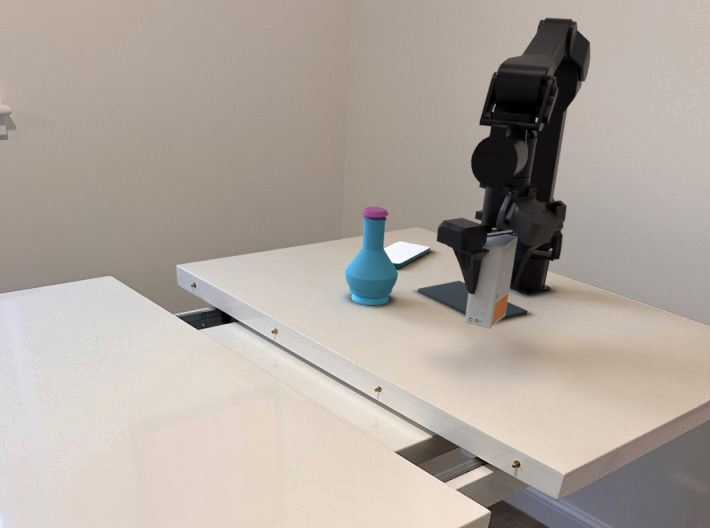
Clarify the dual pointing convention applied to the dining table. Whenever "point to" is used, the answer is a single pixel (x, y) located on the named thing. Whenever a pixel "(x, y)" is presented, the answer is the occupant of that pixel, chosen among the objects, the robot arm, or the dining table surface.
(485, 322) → the cosmetic box
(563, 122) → the robot arm
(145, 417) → the dining table surface
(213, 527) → the dining table surface
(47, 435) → the dining table surface
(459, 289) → the side mat
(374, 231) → the perfume bottle
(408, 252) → the smartphone
